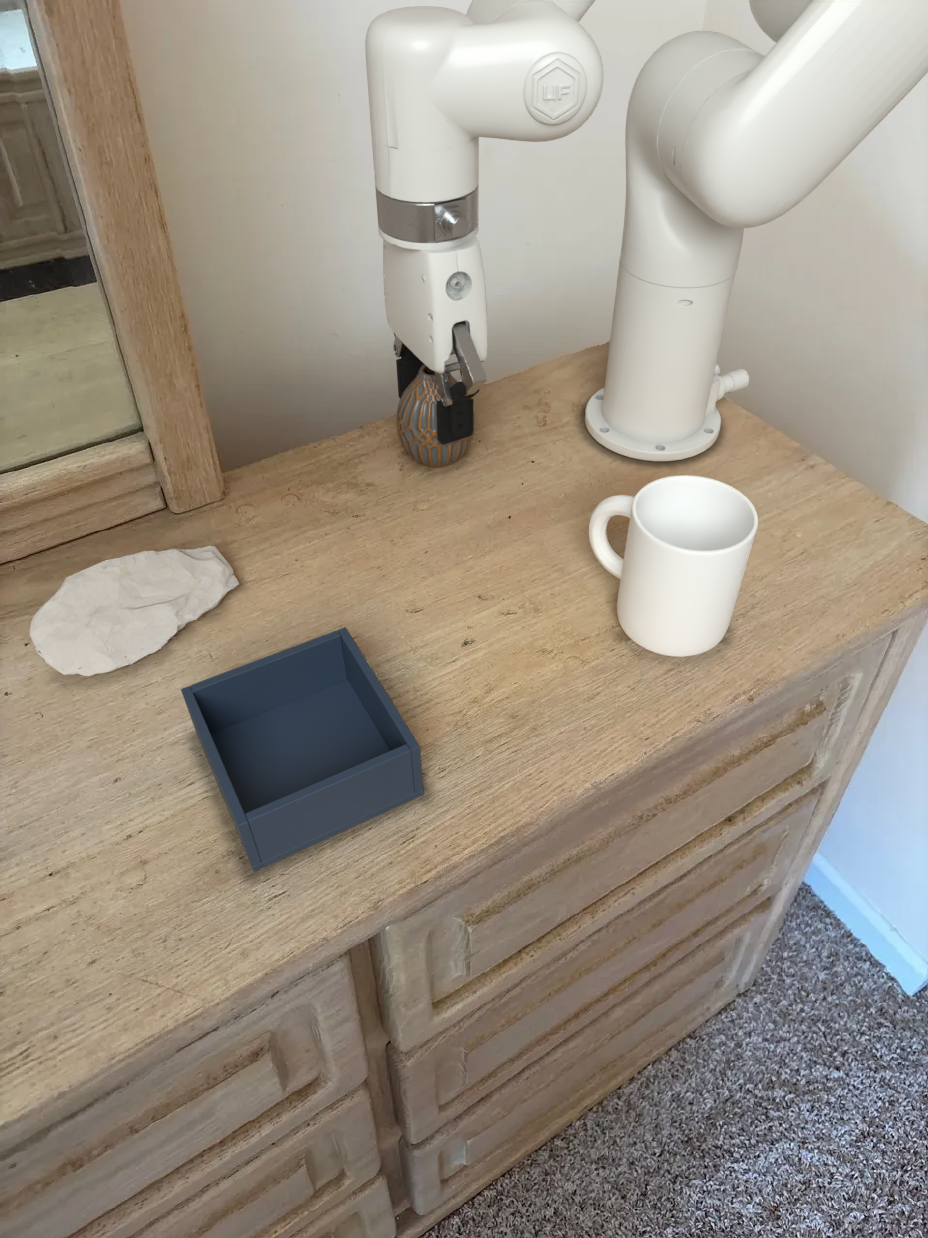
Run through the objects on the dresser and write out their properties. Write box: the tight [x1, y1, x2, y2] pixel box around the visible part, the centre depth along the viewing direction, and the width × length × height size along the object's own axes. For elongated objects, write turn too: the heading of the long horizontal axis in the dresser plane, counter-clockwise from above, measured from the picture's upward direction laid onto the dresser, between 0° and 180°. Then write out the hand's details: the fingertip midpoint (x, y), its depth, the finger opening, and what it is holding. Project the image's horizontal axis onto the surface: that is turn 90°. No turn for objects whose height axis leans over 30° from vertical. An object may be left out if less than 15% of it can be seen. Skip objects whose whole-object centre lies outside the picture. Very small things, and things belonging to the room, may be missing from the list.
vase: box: [395, 364, 476, 468], centre depth 79 cm, size 7×7×9 cm
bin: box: [180, 627, 425, 873], centre depth 57 cm, size 11×11×5 cm
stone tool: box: [29, 544, 240, 677], centre depth 67 cm, size 9×3×15 cm
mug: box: [588, 474, 759, 658], centre depth 65 cm, size 12×8×10 cm
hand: (435, 415), depth 79 cm, fingers closed on vase, 6 cm apart
